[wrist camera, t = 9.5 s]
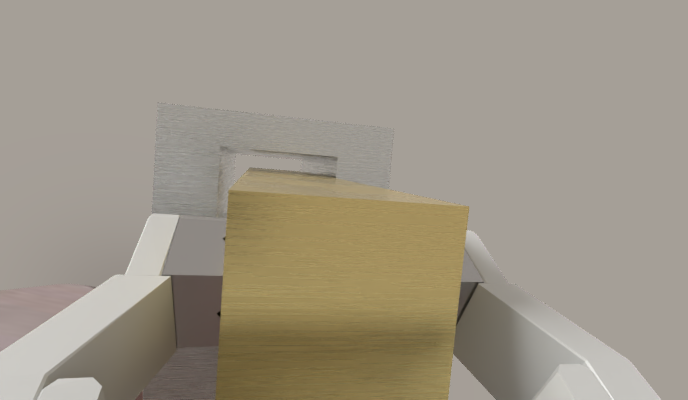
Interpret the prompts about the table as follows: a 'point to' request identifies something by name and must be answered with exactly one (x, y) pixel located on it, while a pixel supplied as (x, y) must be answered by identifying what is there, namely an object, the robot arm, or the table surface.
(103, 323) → the robot arm
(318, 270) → the brass bar
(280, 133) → the rack post
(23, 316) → the table surface
